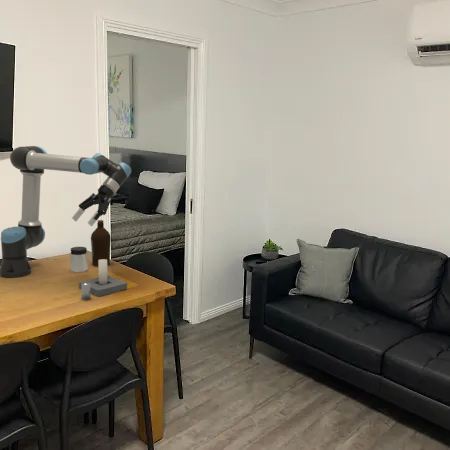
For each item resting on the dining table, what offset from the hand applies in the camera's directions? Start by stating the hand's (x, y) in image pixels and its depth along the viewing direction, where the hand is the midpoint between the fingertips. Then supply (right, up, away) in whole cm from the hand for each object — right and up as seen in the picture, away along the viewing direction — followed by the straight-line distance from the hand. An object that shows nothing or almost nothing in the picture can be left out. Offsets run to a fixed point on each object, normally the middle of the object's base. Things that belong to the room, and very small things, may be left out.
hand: (81, 222), depth 229 cm
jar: (-10, -26, +27) cm, 39 cm away
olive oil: (-1, -24, +40) cm, 46 cm away
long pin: (+10, -32, -1) cm, 33 cm away
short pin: (+6, -34, -14) cm, 38 cm away
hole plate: (+10, -32, -1) cm, 33 cm away
